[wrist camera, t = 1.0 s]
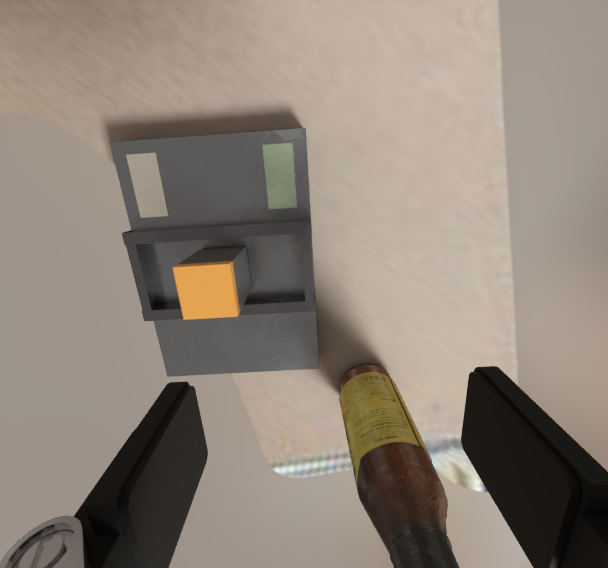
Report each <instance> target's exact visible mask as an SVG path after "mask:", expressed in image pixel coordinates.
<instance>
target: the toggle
mask: <svg viewBox="0 0 608 568" xmlns="http://www.w3.org/2000/svg"><path fill="white" fill-rule="evenodd" d="M173 272H174V276H175V281H176V286H177V291H178V295H179V300H180V305H181V310H182V314H183V319H184V320H190V319H207V318H224V317H238V315H239V313H240V311H241V309H242V307H243V305H244V303H245V301H246V299H247V297H248V295H249V293H250V291H251V282H250V274H249V266H248V258H247V251H246V246H242V247H226V248H210V249H200V250H199V251H197V252H196V253H194V254H193V255H191V256H189V257H188V258H186V259H185V260H183V261H182V262H180V263H179V264H177V265H176V266H174V267H173Z"/></svg>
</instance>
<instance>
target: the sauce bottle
mask: <svg viewBox="0 0 608 568" xmlns="http://www.w3.org/2000/svg"><path fill="white" fill-rule="evenodd" d="M339 394H340V398H339V400H340V405H341V410H342V415H343V420H344V425H345V430H346V435H347V440H348V445H349V451H350V456H351V461H352V465H353V470H354V476H355V480H356V486H357V490H358V495H359V498H360V501H361V503H362V504H363V506H364V508H365V510H366V512H367V514H368V516H369V517H370V519H371V521H372V523H373V525H374V526H375V528H376V530H377V532H378V534H379V535H380V537H381V539H382V541H383V543H384V545H385V547H386V548H387V550H388V552H389V554H390V559H391V561H392V563H393V565H394V568H459V566H458V563H457V561H456V559H455V556H454V554H453V552H452V545H451V543H450V540H449V539H448V537H447V535H446V533H447V532H446V518H447V507H448V504H447V498H446V495H445V491H444V488H443V485H442V483H441V481H440V479H439V477H438V475H437V473H436V471H435V469H434V467H433V464H432V460H431V457H430V454H429V452H428V450H427V448H426V446H425V444H424V442H423V440H422V438H421V436H420V434H419V432H418V430H417V428H416V425H415V423H414V421H413V419H412V417H411V415H410V413H409V411H408V409H407V407H406V405H405V403H404V401H403V398H402V396H401V394H400V392H399V390H398V388H397V386H396V384H395V382H394V381H393V380H392V379H391V377H390V376H389V374H388V373H387V372H386V371H385V370H384V369H383V368H381V367H378V366H374V365H360V366H357V367H354V368H353V369H351V370H349V371H348V372H347V373H346V374H345V375H344V377H343V378H342V380H341V382H340V388H339Z"/></svg>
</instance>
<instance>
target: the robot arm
mask: <svg viewBox="0 0 608 568" xmlns="http://www.w3.org/2000/svg"><path fill="white" fill-rule="evenodd" d="M461 442H462V446H463V449H464V451H465V453H466V455H467V456H468V458H469V460H470V461H471V463H472V465H473V466H474V468H475V470H476V472H477V473H478V475H479V477H480V478H481V480H482V482H483V483H484V485H485V487H486V488H487V490H488V492H489V493H490V495H491V497H492V498H493V500H494V502H495V504H496V505H497V506H498V508H499V510H500V512H501V513H502V515H503V517H504V519H505V520H506V522H507V524H508V525H509V527H510V529H511V530H512V532H513V534H514V536H515V537H516V539H517V541H518V542H519V544H520V546H521V547H522V549H523V551H524V552H525V554H526V556H527V557H528V559H529V561H530V563H531V564H532V566H533V567H534V568H608V472H607V471H606V470H605V469H604V468H603V467H602V466H601V465H600V464H599V463H598V462H597V461H596V460H595V459H594V458H593V457H592V456H591V455H589V454H588V453H587V452H586V451H585V450H584V449H583V448H582V447H581V446H580V445H579V444H578V443H577V442H576V441H575V440H573V438H572V437H571V436H570V435H569V434H567V433H566V432H565V431H564V430H563V429H562V428H561V427H560V426H559V425H558V424H557V423H556V422H555V421H554V420H553V419H552V418H550V416H548V414H546V413H545V412H544V411H543V410H542V409H541V408H540V407H539V406H538V405H537V404H536V403H535V402H534V401H533V400H532V399H531V398H530V397H529V396H528V395H527V394H525V393H524V392H523V391H522V390H521V389H520V388H519V387H518V386H517V385H516V384H515V383H514V382H513V381H512V380H511V379H510V378H509V377H508V376H507V375H506V374H505V373H503V372H502V371H501V370H500V369H499V368H498V367H495V366H491V367H477V368H475V370H474V372H471V373H470V374H469V380H468V388H467V396H466V404H465V412H464V420H463V428H462V436H461ZM207 455H208V450H207V445H206V440H205V436H204V430H203V425H202V421H201V416H200V411H199V406H198V401H197V397H196V392H195V388H194V387H193V386H190V385H189V383H188V382H171V383H168V384H167V385H166V387H165V388H164V390H163V391H162V393H161V394H160V395H159V397H158V399H157V400H156V401H155V403H154V404H153V406H152V407H151V408H150V410H149V411H148V413H147V414H146V415H145V417H144V418H143V420H142V421H141V423H140V424H139V426H138V427H137V428H136V429H135V430H134V431H133V433H132V434H131V435H130V437H129V438H128V440H127V441H126V443H125V444H124V445H123V447H122V448H121V450H120V451H119V452H118V454H117V455H116V457H115V458H114V460H113V461H112V462H111V464H110V465H109V467H108V468H107V470H106V471H105V473H104V474H103V475H102V477H101V478H100V480H99V481H98V482H97V484H96V485H95V487H94V488H93V490H92V491H91V492H90V494H89V495H88V497H87V498H86V500H85V501H84V503H83V504H82V505H81V507H80V508H79V510H78V511H77V513H76V514H75V516H74V517H73V516H61V517H56V518H54V519H51V520H49V521H46V522H44V523H42V524H40V525H39V526H37V527H36V528H34V529H32V530H31V531H29V532H28V533H27V534H26V535H24V536H23V537H22V538H21V539H20V540H18V541H17V542H16V543H15V544H14V545H13V547H12V548H11V549H10V550H9V551H8V552H7V553H6V554H5V556H4V557H3V559H2V560H1V562H0V568H169V565H170V562H171V559H172V556H173V554H174V551H175V548H176V545H177V542H178V540H179V537H180V534H181V531H182V528H183V526H184V523H185V520H186V517H187V514H188V512H189V509H190V506H191V503H192V501H193V498H194V495H195V492H196V490H197V487H198V484H199V481H200V478H201V475H202V473H203V470H204V467H205V464H206V461H207Z"/></svg>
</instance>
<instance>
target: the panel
mask: <svg viewBox="0 0 608 568" xmlns="http://www.w3.org/2000/svg"><path fill="white" fill-rule="evenodd" d="M110 145H111V149H112V153H113V157H114V161H115V165H116V169H117V173H118V177H119V181H120V185H121V189H122V193H123V197H124V201H125V205H126V210H127V214H128V218H129V222H130V226H131V231H127V232H124V233H122V236H123V240H124V244H125V245H126V247H127V251H128V255H129V258H130V262H131V267H132V271H133V274H134V278H135V282H136V286H137V290H138V294H139V298H140V302H141V305H142V309H143V310H142V313H143V318H144V321H154V323H155V328H156V332H157V336H158V339H159V344H160V347H161V352H162V356H163V359H164V364H165V368H166V372H167V376H186V375H205V374H224V373H243V372H261V371H280V370H298V369H317V368H319V355H318V338H317V320H316V300H315V286H314V268H313V251H312V230H311V216H310V199H309V181H308V164H307V146H306V129H305V128H296V129H283V130H269V131H256V132H242V133H228V134H215V135H201V136H188V137H174V138H160V139H147V140H133V141H119V142H110ZM242 246H246V251H247V258H248V266H249V274H250V282H251V291H250V293H249V295H248V297H247V299H246V301H245V303H244V305H243V307H242V309H241V311H240V313H239V315H238V317H224V318H207V319H190V320H184V319H183V314H182V310H181V305H180V300H179V295H178V291H177V286H176V281H175V276H174V272H173V267H174V266H176V265H177V264H179V263H180V262H182V261H183V260H185V259H186V258H188V257H189V256H191V255H193V254H194V253H196V252H197V251H199V250H200V249H210V248H226V247H242Z"/></svg>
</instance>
